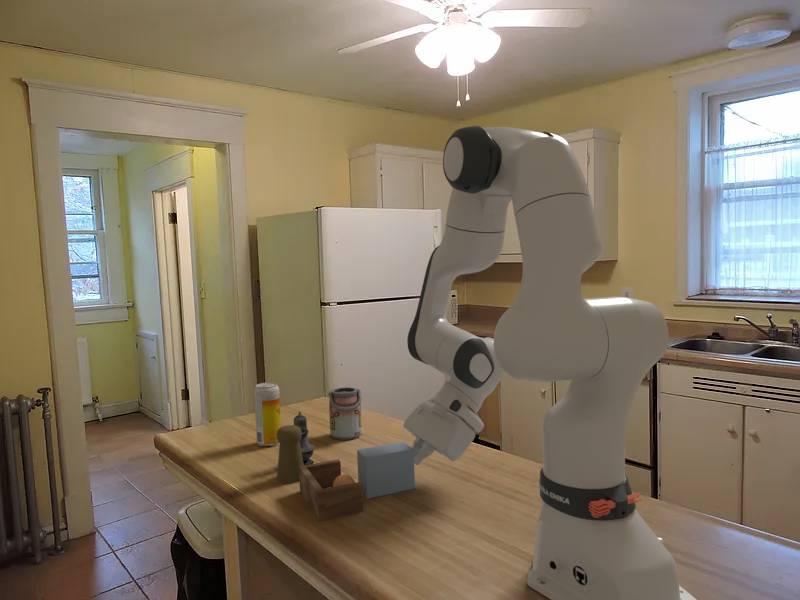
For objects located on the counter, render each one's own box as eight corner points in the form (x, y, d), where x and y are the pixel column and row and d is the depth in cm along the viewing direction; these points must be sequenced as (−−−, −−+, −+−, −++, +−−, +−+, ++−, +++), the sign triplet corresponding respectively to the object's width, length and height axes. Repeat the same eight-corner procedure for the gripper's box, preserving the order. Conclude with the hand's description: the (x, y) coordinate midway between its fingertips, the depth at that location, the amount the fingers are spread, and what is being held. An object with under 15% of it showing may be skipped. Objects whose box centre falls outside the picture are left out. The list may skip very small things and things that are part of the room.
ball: (348, 474, 107) (331, 492, 106) (363, 488, 108) (347, 506, 107) (341, 466, 111) (325, 484, 110) (355, 480, 112) (340, 498, 111)
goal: (363, 511, 103) (362, 484, 103) (319, 520, 100) (317, 493, 99) (339, 483, 116) (338, 459, 116) (300, 490, 113) (298, 466, 113)
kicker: (414, 488, 112) (413, 448, 112) (367, 498, 108) (365, 457, 108) (404, 479, 117) (403, 441, 116) (358, 489, 113) (357, 449, 112)
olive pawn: (299, 483, 117) (297, 431, 116) (272, 482, 118) (269, 430, 117) (310, 472, 122) (307, 422, 122) (283, 471, 124) (281, 422, 123)
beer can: (286, 441, 144) (284, 383, 143) (269, 449, 139) (266, 388, 138) (269, 438, 147) (266, 381, 146) (251, 445, 142) (248, 386, 141)
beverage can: (365, 440, 143) (363, 393, 142) (332, 443, 141) (330, 396, 140) (359, 429, 152) (358, 385, 151) (328, 432, 150) (326, 388, 149)
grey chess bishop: (303, 470, 124) (300, 416, 123) (283, 465, 127) (280, 413, 126) (320, 461, 129) (318, 409, 128) (301, 457, 132) (298, 406, 131)
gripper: (421, 387, 126) (382, 437, 123) (468, 409, 107) (422, 469, 104) (440, 405, 128) (402, 454, 125) (489, 429, 109) (445, 488, 106)
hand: (411, 461), depth 114 cm, fingers closed
